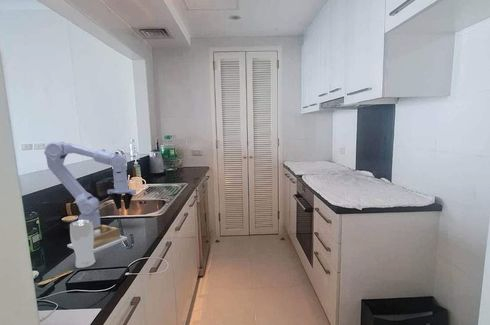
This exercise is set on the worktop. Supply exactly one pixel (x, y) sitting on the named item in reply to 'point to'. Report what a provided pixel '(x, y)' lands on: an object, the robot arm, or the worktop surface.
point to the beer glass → (83, 242)
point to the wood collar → (105, 235)
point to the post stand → (106, 245)
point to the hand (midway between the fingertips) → (123, 208)
